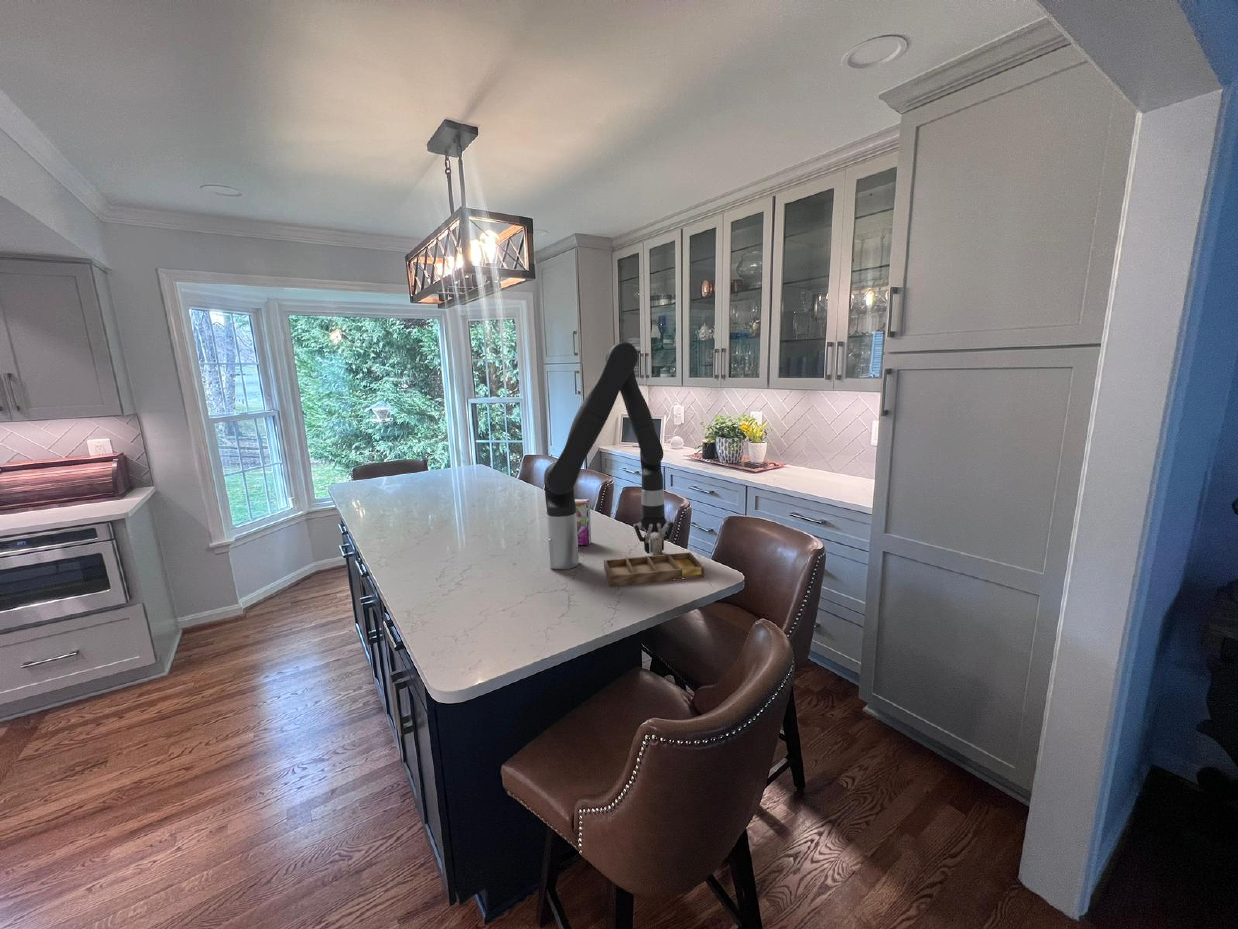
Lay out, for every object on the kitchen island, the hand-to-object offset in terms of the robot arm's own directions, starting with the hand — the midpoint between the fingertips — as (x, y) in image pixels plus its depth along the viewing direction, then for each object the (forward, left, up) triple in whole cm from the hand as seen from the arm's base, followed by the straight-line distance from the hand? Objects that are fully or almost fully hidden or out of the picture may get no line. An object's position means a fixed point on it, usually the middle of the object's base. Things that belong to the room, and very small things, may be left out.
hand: (654, 552), depth 166 cm
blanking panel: (0, 0, -1) cm, 1 cm away
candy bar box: (-25, +19, -2) cm, 31 cm away
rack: (-4, -15, -1) cm, 16 cm away
